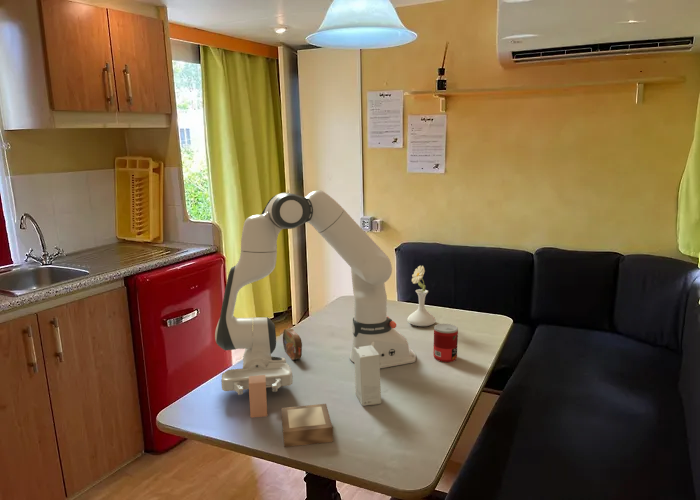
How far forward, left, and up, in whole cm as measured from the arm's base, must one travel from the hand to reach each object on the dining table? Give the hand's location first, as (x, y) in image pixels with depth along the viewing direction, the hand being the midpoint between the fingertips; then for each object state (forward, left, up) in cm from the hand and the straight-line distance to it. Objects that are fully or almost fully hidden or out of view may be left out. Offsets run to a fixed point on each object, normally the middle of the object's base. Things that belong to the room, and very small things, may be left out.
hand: (257, 390), depth 146 cm
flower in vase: (-65, -56, -6) cm, 86 cm away
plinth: (-12, +14, -6) cm, 19 cm away
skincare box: (-31, 0, -6) cm, 32 cm away
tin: (-12, -36, -6) cm, 38 cm away
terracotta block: (0, +2, -6) cm, 6 cm away
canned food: (-63, -23, -6) cm, 67 cm away
